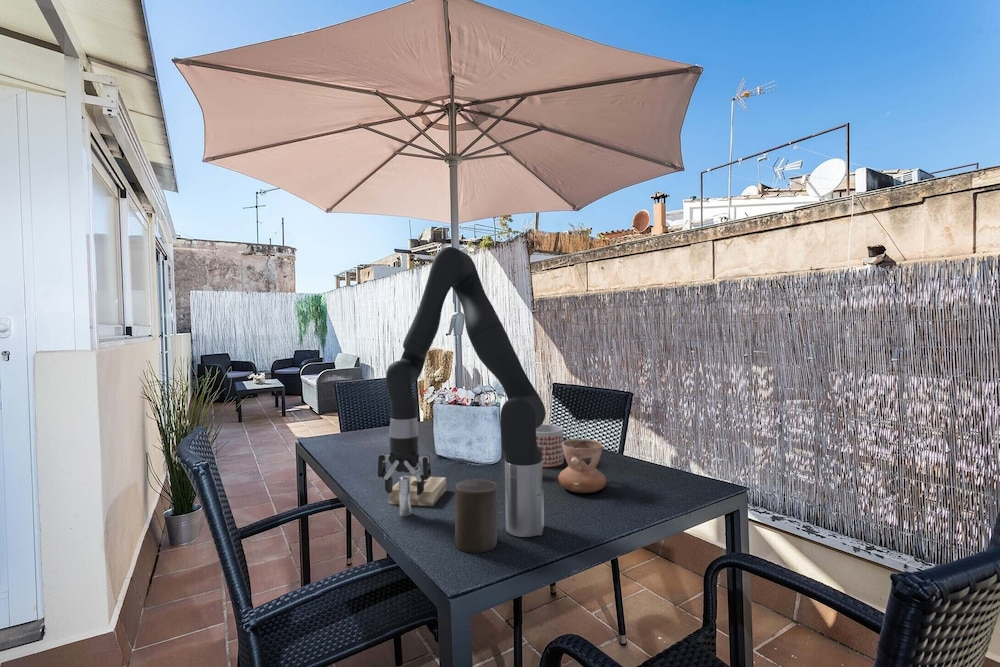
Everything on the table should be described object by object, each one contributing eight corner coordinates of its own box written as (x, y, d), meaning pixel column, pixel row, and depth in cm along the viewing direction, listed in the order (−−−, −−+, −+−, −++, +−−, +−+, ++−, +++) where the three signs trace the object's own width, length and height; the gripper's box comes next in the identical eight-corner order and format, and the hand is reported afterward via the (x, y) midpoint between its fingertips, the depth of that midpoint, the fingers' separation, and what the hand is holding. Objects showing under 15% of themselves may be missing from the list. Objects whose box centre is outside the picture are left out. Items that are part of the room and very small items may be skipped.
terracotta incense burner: (598, 502, 136) (598, 452, 136) (550, 494, 142) (550, 446, 142) (613, 484, 152) (613, 439, 152) (569, 477, 159) (569, 434, 158)
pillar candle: (469, 557, 105) (469, 489, 104) (447, 541, 112) (447, 478, 112) (505, 545, 110) (505, 481, 110) (482, 531, 118) (482, 470, 118)
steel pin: (412, 512, 130) (412, 475, 130) (408, 516, 128) (408, 479, 127) (402, 511, 131) (401, 475, 131) (398, 516, 128) (397, 478, 128)
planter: (533, 469, 167) (532, 433, 167) (521, 459, 180) (520, 425, 180) (569, 466, 171) (569, 430, 170) (555, 456, 184) (554, 423, 184)
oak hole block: (445, 490, 147) (445, 477, 147) (432, 506, 135) (432, 492, 135) (405, 488, 150) (405, 475, 150) (389, 503, 137) (388, 489, 137)
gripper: (433, 431, 131) (434, 490, 132) (385, 429, 134) (385, 487, 134) (424, 438, 124) (424, 500, 124) (373, 436, 127) (373, 496, 127)
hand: (404, 493), depth 129 cm, fingers open, 8 cm apart
